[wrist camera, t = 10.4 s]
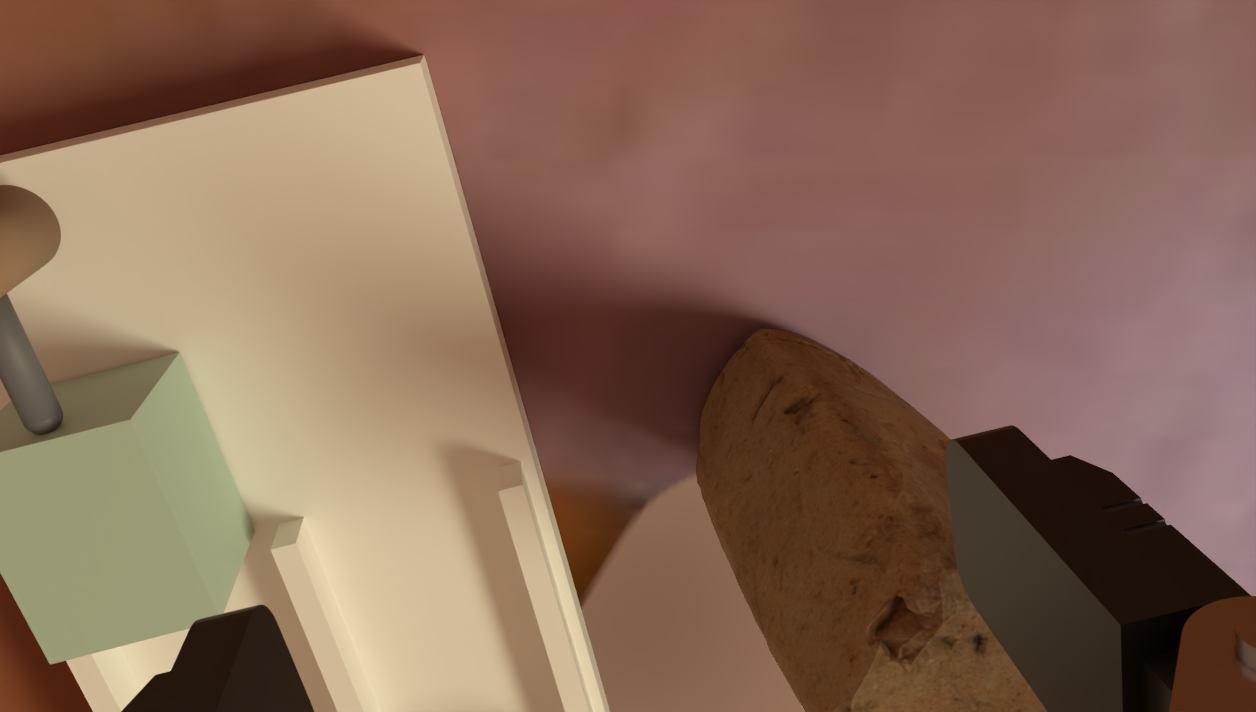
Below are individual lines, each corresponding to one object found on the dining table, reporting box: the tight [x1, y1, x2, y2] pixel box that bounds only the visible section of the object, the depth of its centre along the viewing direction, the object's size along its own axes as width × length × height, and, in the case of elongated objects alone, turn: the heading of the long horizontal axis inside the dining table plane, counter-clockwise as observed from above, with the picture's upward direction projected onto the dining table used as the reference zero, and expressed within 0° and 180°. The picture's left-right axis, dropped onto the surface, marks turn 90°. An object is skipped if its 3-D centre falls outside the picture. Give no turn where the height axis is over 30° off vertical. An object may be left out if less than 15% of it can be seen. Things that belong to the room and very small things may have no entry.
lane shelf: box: [0, 55, 610, 712], centre depth 41 cm, size 32×20×8 cm, turn 12°
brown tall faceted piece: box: [696, 329, 1047, 712], centre depth 38 cm, size 11×8×20 cm
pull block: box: [0, 185, 255, 665], centre depth 34 cm, size 16×6×10 cm, turn 12°
